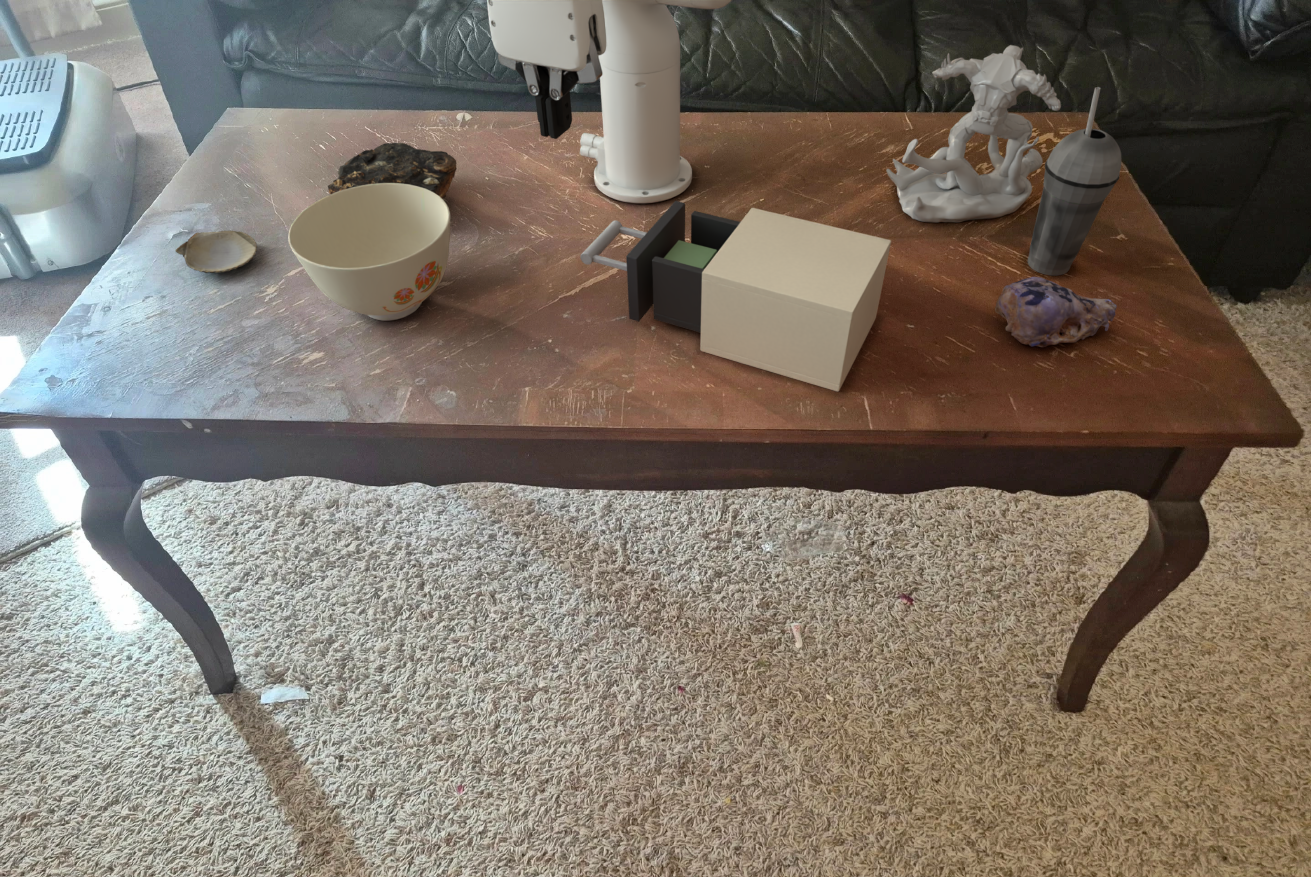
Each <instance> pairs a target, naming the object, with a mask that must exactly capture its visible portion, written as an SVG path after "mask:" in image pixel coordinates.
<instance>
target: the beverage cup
mask: <svg viewBox="0 0 1311 877" xmlns="http://www.w3.org/2000/svg"><path fill="white" fill-rule="evenodd" d="M1100 92H1101V87H1100V86H1097V87H1094V90H1093V95H1092V99H1091V106H1090V109H1089V114H1088V118H1087V123H1086V128H1083V129H1078V130H1076V131H1074V132H1071V133H1069V134H1067V135H1066V136H1064V137H1063V138H1062V139H1061V140H1060V141H1059V142H1058V143H1056V144H1055V146H1054V148H1053V149H1052V150H1051V152H1050V154H1049V156H1048V158H1047V159H1046V160H1045V162H1044V163H1045V164H1044V174H1043V175H1044V176H1043V188H1042V193H1041V195H1040V201H1039V205H1038V210H1037V213H1036V214H1037V215H1036V219H1035V222H1034V228H1033V232H1032V236H1031V241H1030V245H1029V251H1028V252H1029V253H1028V257H1027V264H1028V266H1029V267H1030V268H1031V269H1032V270H1033V271H1035V272H1037V273H1040V274H1042V275H1045V276H1062V275H1065V274H1066V273H1068V271H1070V269H1071V266H1072V264H1073V263H1074V261H1075V260H1076V259H1077V256H1078V254H1079V252H1080V251H1081V248H1082V247H1083V244H1084V242H1085V240H1086V238H1087V236H1088V234H1089V232H1090V230H1091V228H1092V226H1093V223H1094V222H1095V220H1096V218H1097V216H1098V214H1099V212H1100V210H1101V208H1102V206H1103V204H1104V202H1105V200H1106V198H1108V196H1109V195H1110V193H1111V192H1112V190H1113V188H1114V187H1115V185H1116V184H1117V182H1118V181H1119V180H1120V176H1121V174H1120V172H1121V169H1122V168H1121V167H1122V152H1121V148H1120V146H1119V144H1118V143H1117V141H1116V140H1115V138H1114V136H1112V135H1110V134H1109V133H1108V132H1106V131H1104V130H1101V129H1098V128H1093V125H1094V121H1095V115H1096V112H1097V111H1096V110H1097V107H1098V103H1099V97H1100V94H1101V93H1100Z"/></svg>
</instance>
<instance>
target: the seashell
mask: <svg viewBox="0 0 1311 877" xmlns="http://www.w3.org/2000/svg"><path fill="white" fill-rule="evenodd" d="M257 252H258V243H257V242H256V239H254V238H253V237H252V236H251V235H250V234H248V233H246V232H243V231H237V230H219V231H201V232H199V231H198V232H195V233H194V234H193V235H192V236H190V237H189V239H188V238H187V240H186V241H185V242H183V243H182V244H180V245H179V246H178V247H177V248H175V253H176V254H178V255H180V256H181V255H182V257H183V259H184V262H185V264H186V265H187V267H188V268H189V269H192V270H194V271H195V272H196V271H198V272H200V273H205V274H209V273H210V274H213V273H215V274H220V273H226V272H231V271H233V270H237V269H239V268H240V267H243V266H245V265H247V264H249V263H250V261H252V260H253V259H254V257H255V256H256V255H257Z"/></svg>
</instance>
